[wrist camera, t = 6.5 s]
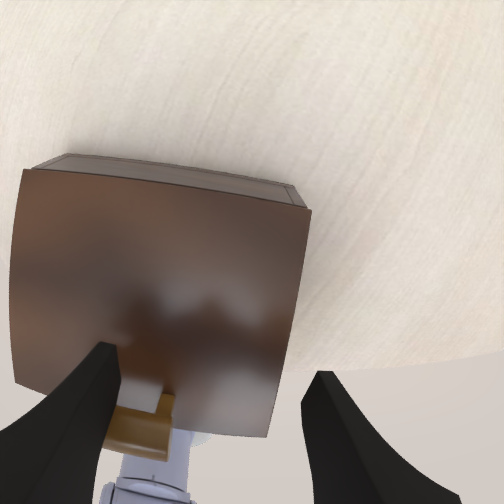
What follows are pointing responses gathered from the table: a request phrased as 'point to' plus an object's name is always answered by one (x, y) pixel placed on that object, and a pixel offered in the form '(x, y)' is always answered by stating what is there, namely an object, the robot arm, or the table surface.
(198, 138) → the table surface
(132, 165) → the keepsake box
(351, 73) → the table surface
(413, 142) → the table surface
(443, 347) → the table surface
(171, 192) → the box lid
